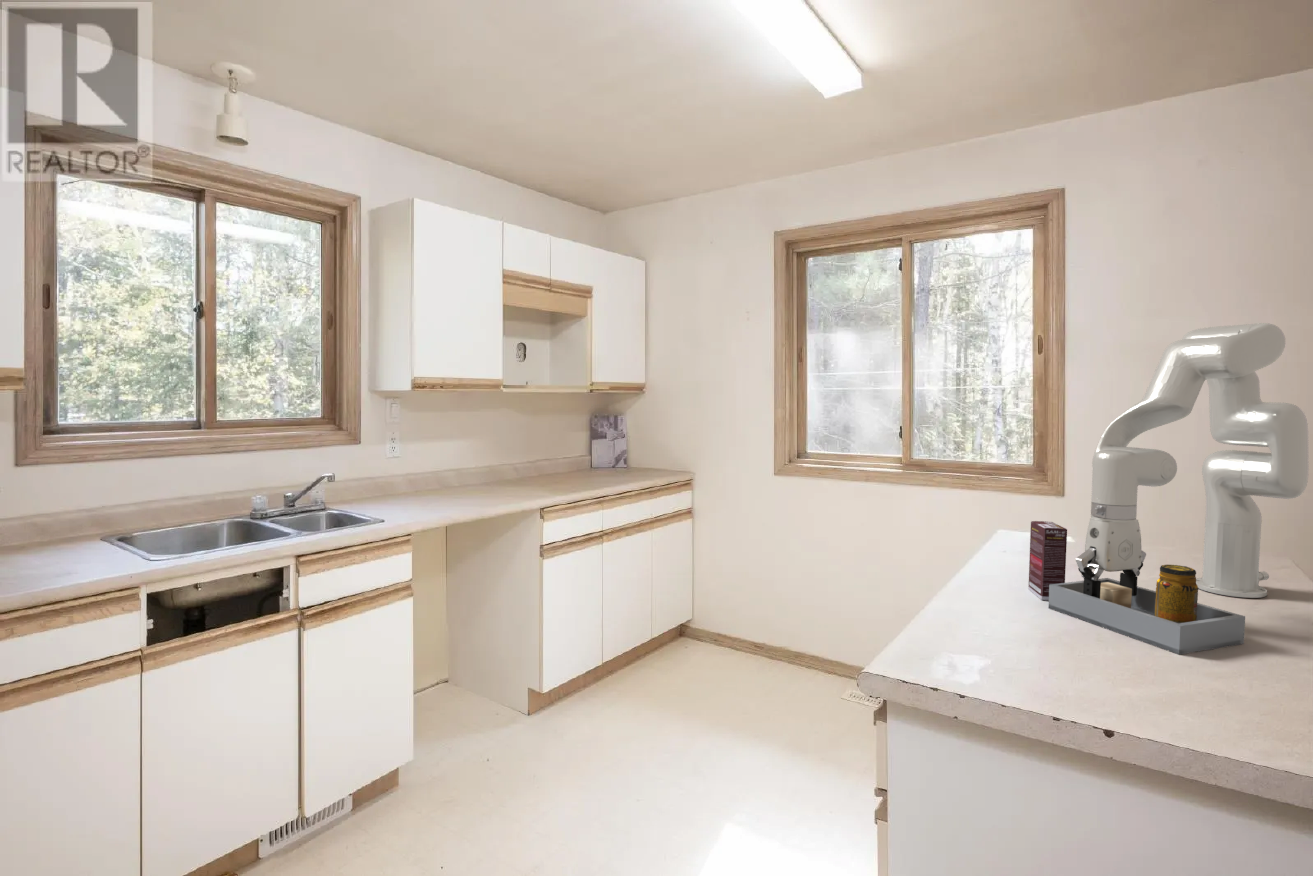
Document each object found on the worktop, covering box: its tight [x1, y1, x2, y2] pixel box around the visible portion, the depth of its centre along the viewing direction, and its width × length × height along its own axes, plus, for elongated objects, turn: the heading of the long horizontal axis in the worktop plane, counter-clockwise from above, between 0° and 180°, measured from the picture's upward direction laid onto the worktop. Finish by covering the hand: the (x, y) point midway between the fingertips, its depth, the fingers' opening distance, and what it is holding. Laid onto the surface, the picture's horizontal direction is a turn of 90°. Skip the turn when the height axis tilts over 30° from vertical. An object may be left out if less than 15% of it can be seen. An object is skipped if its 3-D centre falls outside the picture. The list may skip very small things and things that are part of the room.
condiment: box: [1155, 564, 1199, 623], centre depth 121 cm, size 7×8×12 cm
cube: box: [1100, 582, 1132, 608], centre depth 134 cm, size 5×5×5 cm
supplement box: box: [1028, 520, 1068, 602], centre depth 147 cm, size 9×5×16 cm, turn 168°
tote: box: [1048, 577, 1246, 656], centre depth 128 cm, size 16×26×5 cm, turn 17°
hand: (1109, 596), depth 134 cm, fingers open, 9 cm apart
